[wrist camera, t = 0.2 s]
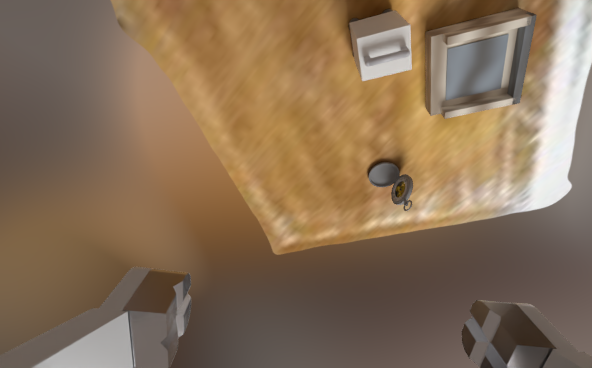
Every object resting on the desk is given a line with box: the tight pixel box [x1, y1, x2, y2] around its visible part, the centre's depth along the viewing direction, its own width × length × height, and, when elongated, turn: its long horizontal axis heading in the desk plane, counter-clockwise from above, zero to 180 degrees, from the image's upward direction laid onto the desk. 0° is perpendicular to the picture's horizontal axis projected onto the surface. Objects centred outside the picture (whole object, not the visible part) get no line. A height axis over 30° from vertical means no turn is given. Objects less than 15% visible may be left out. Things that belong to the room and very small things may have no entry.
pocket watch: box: [369, 162, 413, 211], centre depth 67 cm, size 8×8×10 cm
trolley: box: [349, 9, 412, 81], centre depth 47 cm, size 7×6×13 cm
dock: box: [426, 8, 536, 119], centre depth 53 cm, size 14×14×5 cm
